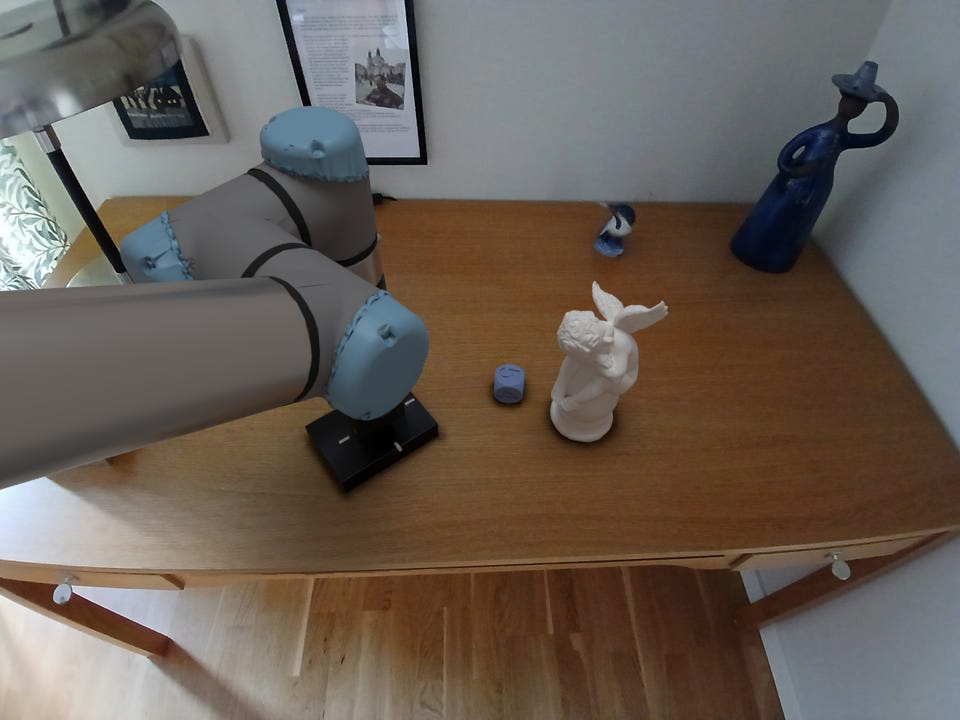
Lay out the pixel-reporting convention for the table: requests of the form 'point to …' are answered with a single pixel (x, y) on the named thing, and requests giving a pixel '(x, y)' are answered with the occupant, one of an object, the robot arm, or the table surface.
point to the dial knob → (365, 427)
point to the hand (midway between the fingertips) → (376, 415)
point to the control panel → (370, 442)
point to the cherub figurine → (597, 364)
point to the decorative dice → (509, 383)
